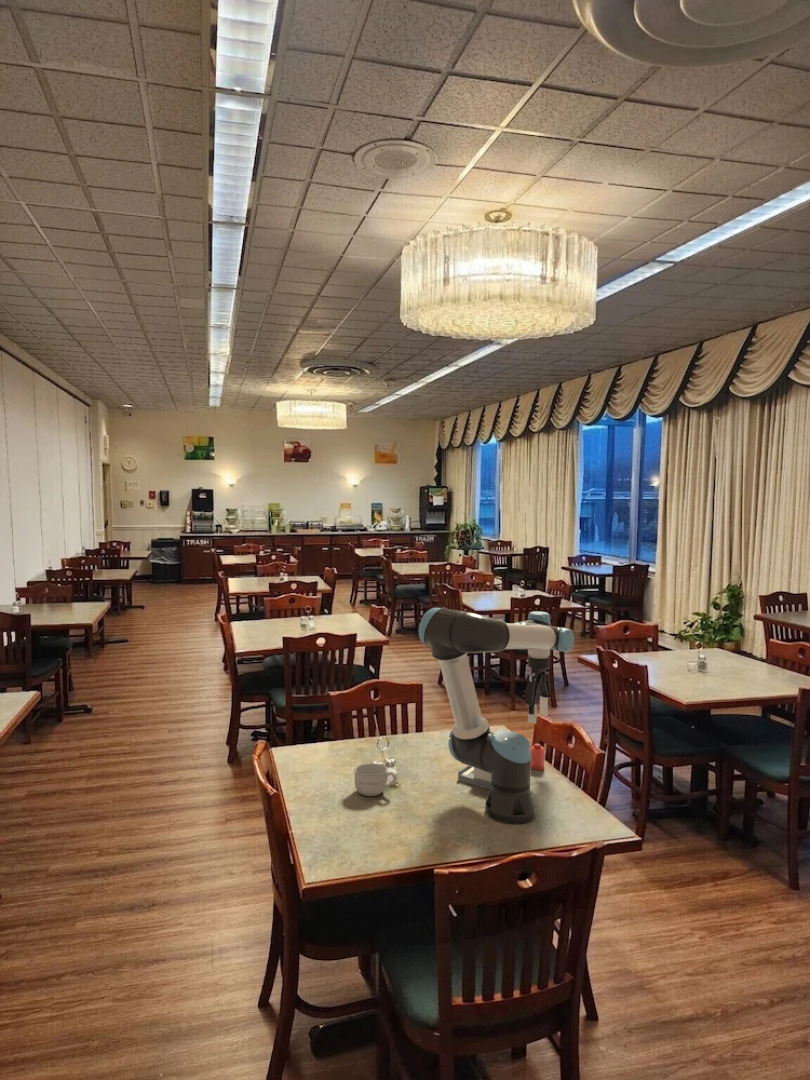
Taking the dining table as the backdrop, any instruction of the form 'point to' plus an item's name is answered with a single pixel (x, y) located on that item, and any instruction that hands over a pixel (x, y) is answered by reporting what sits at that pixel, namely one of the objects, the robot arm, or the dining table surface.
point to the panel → (472, 778)
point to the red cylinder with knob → (537, 757)
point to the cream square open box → (482, 774)
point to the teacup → (372, 779)
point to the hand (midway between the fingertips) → (538, 718)
